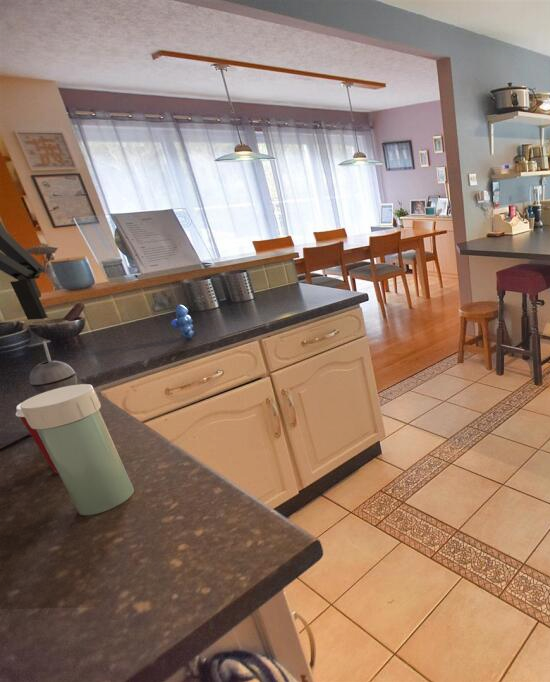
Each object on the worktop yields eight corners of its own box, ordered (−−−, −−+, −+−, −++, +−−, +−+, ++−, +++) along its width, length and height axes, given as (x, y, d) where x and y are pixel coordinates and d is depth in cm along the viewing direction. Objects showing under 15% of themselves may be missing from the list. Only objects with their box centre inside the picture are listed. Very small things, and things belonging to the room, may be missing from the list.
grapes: (177, 335, 162) (166, 304, 158) (199, 331, 165) (188, 301, 161) (174, 344, 153) (162, 311, 148) (197, 339, 156) (186, 307, 152)
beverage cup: (45, 430, 98) (4, 348, 91) (84, 414, 104) (48, 336, 97) (65, 434, 95) (24, 350, 89) (103, 418, 102) (68, 338, 95)
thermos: (65, 516, 70) (11, 412, 63) (105, 486, 77) (60, 390, 70) (108, 514, 70) (58, 410, 63) (145, 485, 76) (103, 387, 70)
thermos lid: (14, 430, 64) (3, 409, 63) (67, 404, 71) (58, 385, 70) (66, 428, 64) (55, 407, 62) (114, 402, 71) (106, 382, 70)
